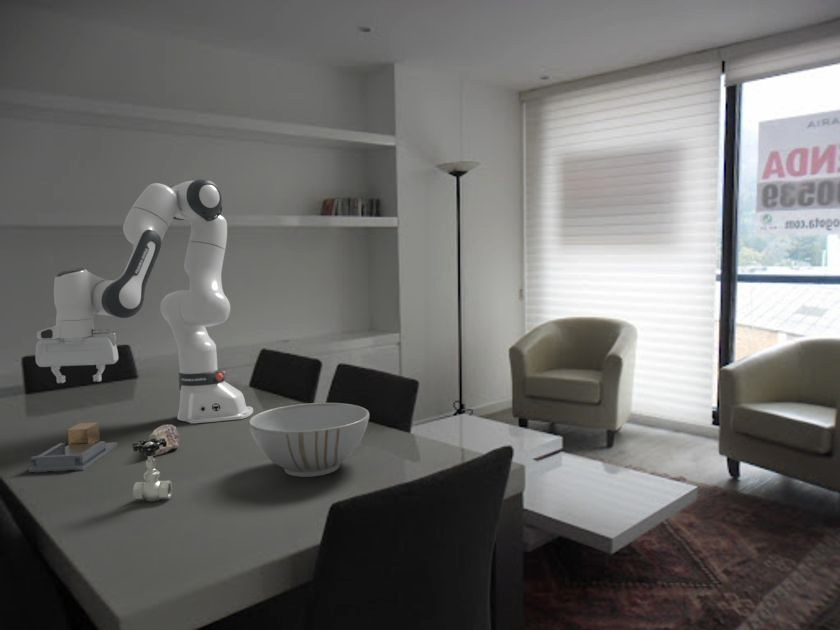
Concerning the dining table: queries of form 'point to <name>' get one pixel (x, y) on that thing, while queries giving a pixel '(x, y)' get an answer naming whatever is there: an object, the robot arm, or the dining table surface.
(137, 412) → the dining table surface
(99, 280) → the robot arm
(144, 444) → the valve
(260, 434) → the decorative bowl
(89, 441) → the cardboard shipping carton
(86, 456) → the tray
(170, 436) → the mineral specimen
